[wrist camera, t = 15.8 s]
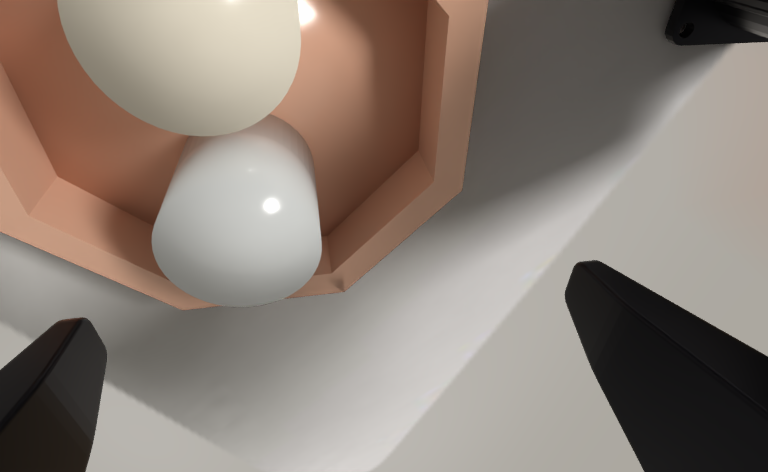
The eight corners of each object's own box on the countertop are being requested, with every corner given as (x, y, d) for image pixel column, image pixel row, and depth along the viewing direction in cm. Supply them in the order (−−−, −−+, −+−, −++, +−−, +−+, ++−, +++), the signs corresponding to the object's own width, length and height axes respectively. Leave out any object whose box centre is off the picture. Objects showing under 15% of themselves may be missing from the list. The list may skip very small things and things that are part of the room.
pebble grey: (308, 105, 15) (314, 173, 11) (319, 215, 18) (327, 298, 14) (165, 113, 14) (126, 188, 11) (199, 226, 17) (178, 315, 14)
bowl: (472, -211, 11) (520, -232, 9) (430, 232, 20) (449, 280, 18) (-180, -239, 9) (-329, -274, 7) (86, 266, 18) (58, 324, 16)
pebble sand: (283, -115, 11) (283, -111, 8) (305, 66, 14) (312, 127, 11) (94, -110, 11) (6, -105, 7) (155, 76, 13) (111, 145, 10)
